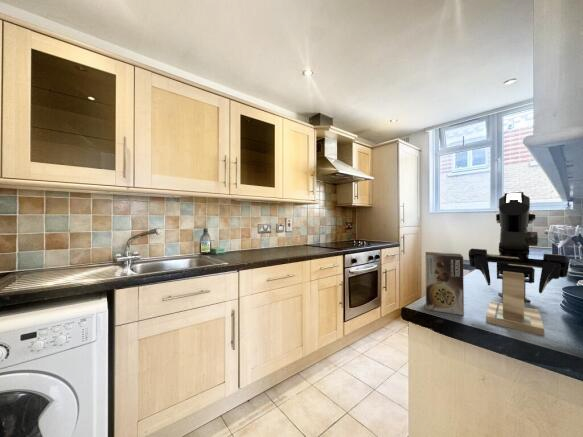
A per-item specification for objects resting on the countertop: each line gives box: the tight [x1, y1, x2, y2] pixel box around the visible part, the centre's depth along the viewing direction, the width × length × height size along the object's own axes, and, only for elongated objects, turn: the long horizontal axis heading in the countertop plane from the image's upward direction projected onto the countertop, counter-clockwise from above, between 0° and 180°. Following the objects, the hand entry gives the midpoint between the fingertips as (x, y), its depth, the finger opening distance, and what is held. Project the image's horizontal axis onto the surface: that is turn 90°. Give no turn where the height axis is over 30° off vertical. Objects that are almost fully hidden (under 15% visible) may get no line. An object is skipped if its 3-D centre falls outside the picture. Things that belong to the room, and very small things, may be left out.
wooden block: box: [502, 271, 525, 323], centre depth 58 cm, size 6×4×11 cm, turn 137°
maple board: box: [485, 300, 545, 337], centre depth 61 cm, size 16×10×2 cm, turn 136°
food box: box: [425, 251, 465, 316], centre depth 68 cm, size 9×6×16 cm
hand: (513, 288), depth 58 cm, fingers open, 9 cm apart
